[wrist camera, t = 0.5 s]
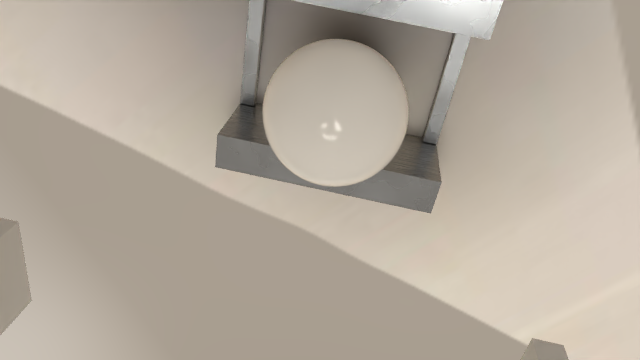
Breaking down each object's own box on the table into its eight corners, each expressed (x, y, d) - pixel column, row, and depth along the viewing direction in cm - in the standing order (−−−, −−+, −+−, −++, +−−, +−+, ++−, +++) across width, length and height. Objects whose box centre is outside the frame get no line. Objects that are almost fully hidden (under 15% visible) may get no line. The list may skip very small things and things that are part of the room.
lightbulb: (398, -8, 27) (397, 50, 17) (413, 104, 30) (419, 206, 20) (284, 15, 28) (225, 80, 19) (309, 119, 31) (268, 221, 22)
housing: (258, -70, 26) (230, -61, 22) (488, -25, 26) (505, -7, 21) (240, 129, 32) (215, 166, 28) (426, 168, 32) (430, 213, 27)
